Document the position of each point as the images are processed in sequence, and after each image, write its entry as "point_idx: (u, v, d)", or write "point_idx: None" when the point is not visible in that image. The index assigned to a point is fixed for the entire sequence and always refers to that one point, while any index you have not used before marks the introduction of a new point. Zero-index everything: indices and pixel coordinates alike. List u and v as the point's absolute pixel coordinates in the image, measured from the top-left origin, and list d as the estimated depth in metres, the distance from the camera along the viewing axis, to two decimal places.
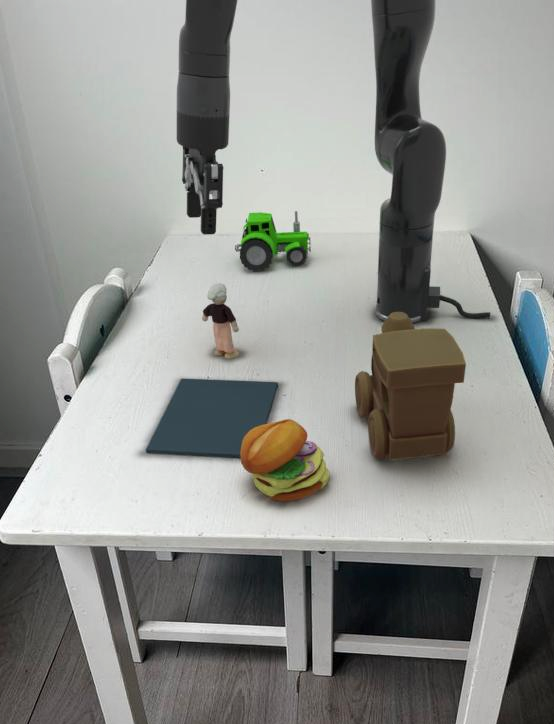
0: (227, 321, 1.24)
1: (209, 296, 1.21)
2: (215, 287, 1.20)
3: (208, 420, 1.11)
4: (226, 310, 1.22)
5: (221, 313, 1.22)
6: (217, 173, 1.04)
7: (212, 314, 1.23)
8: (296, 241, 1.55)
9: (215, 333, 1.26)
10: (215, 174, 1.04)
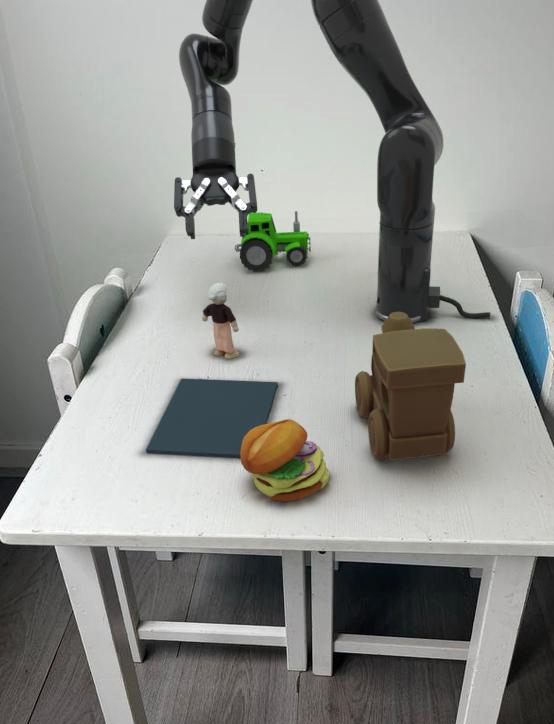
0: (227, 321, 1.24)
1: (209, 296, 1.21)
2: (215, 287, 1.20)
3: (208, 420, 1.11)
4: (226, 310, 1.22)
5: (221, 313, 1.22)
6: None
7: (212, 314, 1.23)
8: (296, 241, 1.55)
9: (215, 333, 1.26)
10: None
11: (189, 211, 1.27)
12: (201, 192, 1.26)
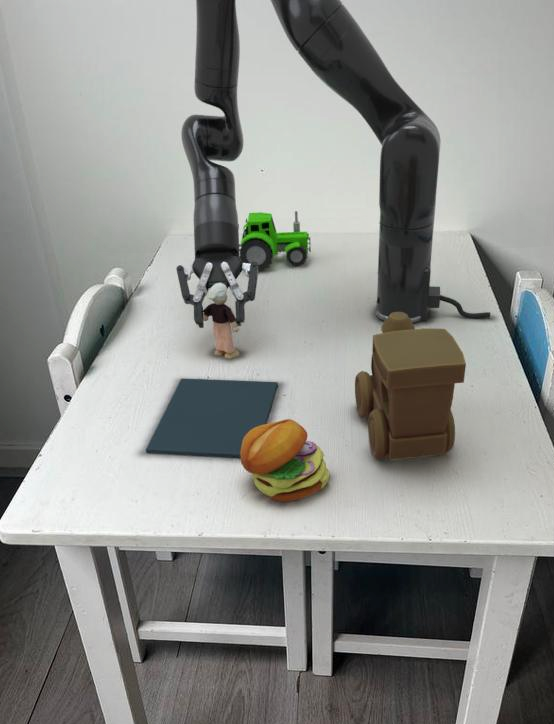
0: (227, 321, 1.23)
1: (210, 296, 1.21)
2: (216, 287, 1.20)
3: (208, 420, 1.11)
4: (226, 310, 1.22)
5: (221, 313, 1.22)
6: None
7: (212, 314, 1.23)
8: (296, 241, 1.55)
9: (215, 333, 1.26)
10: None
11: (198, 300, 1.23)
12: (206, 278, 1.23)
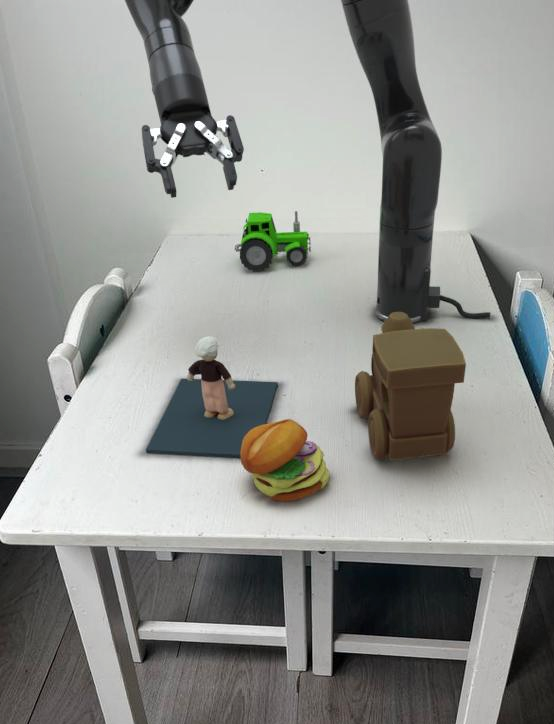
0: (220, 378, 1.08)
1: (200, 353, 1.04)
2: (206, 342, 1.04)
3: (208, 420, 1.11)
4: (219, 366, 1.06)
5: (214, 370, 1.06)
6: (142, 136, 1.07)
7: (202, 372, 1.07)
8: (296, 241, 1.55)
9: (205, 393, 1.10)
10: (142, 138, 1.07)
11: (166, 164, 1.06)
12: (177, 140, 1.06)
